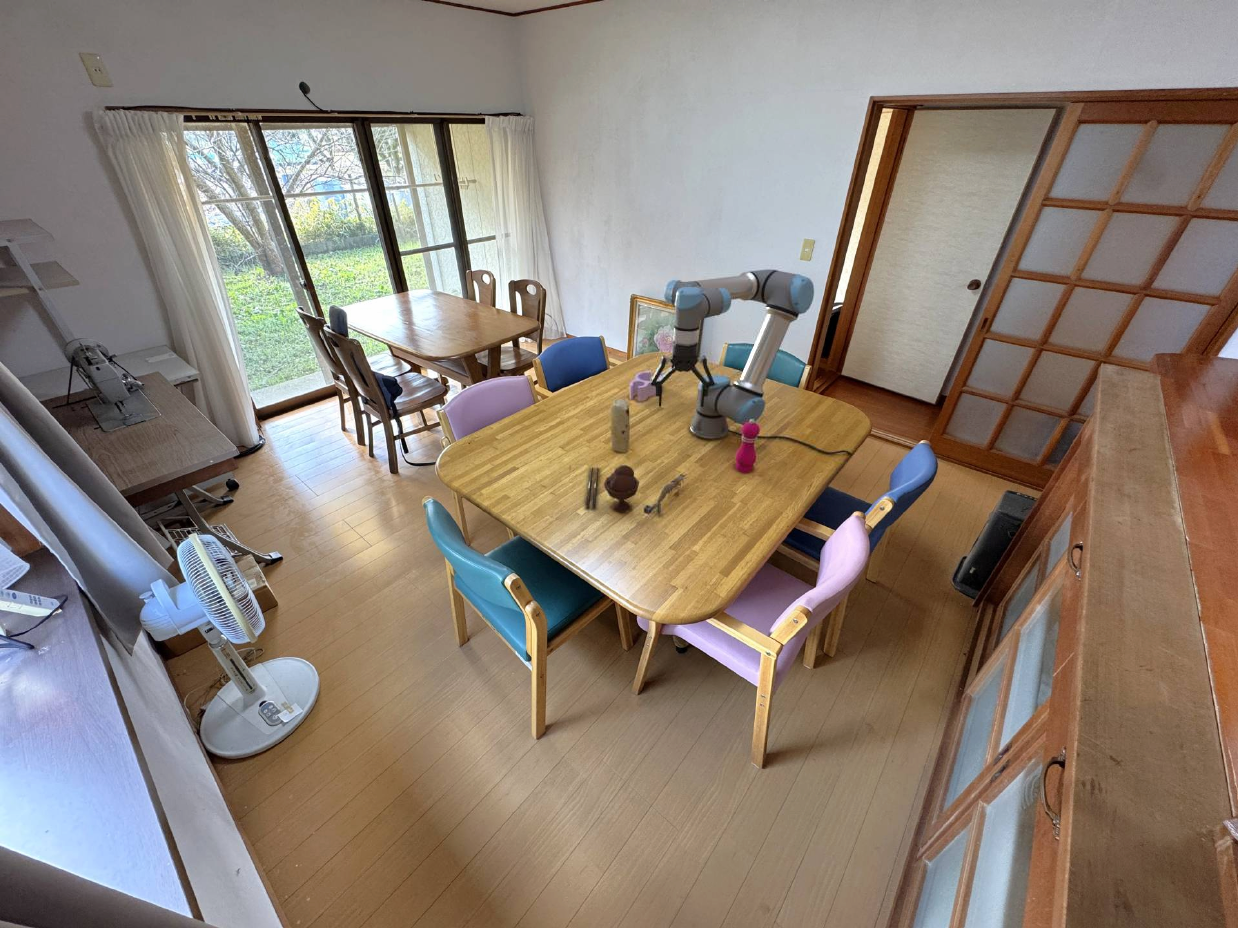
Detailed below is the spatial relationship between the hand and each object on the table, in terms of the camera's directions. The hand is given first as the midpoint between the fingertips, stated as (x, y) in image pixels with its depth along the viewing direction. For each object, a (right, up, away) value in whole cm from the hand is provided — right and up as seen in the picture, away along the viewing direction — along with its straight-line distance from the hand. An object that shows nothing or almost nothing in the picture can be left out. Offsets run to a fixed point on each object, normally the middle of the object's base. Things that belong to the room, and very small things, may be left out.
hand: (680, 405), depth 157 cm
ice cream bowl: (-19, -33, -1) cm, 39 cm away
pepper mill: (+25, -21, +17) cm, 37 cm away
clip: (-8, +14, +70) cm, 72 cm away
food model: (-20, -13, +29) cm, 37 cm away
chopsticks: (-29, -28, +7) cm, 41 cm away
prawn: (-4, -32, +1) cm, 32 cm away
